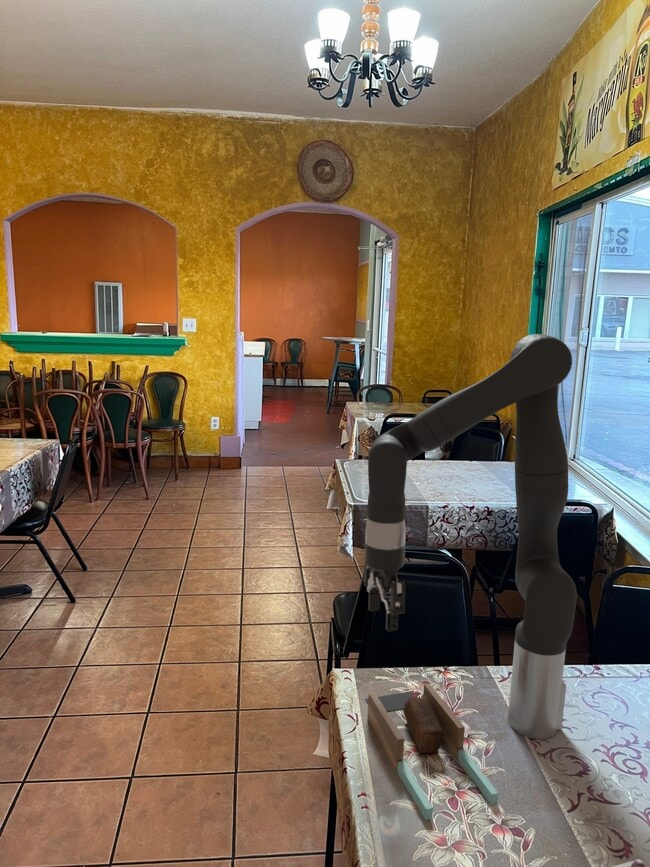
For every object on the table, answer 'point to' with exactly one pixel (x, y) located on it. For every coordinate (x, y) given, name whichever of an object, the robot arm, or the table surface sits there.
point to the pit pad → (394, 701)
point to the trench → (395, 740)
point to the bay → (470, 768)
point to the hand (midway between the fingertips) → (382, 620)
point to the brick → (423, 725)
